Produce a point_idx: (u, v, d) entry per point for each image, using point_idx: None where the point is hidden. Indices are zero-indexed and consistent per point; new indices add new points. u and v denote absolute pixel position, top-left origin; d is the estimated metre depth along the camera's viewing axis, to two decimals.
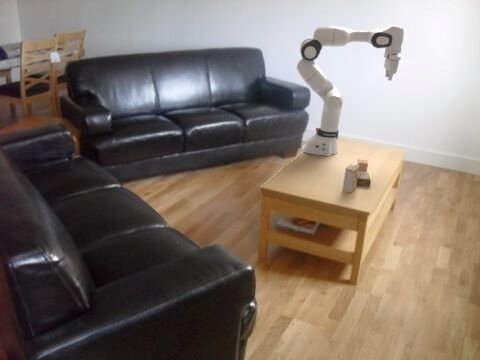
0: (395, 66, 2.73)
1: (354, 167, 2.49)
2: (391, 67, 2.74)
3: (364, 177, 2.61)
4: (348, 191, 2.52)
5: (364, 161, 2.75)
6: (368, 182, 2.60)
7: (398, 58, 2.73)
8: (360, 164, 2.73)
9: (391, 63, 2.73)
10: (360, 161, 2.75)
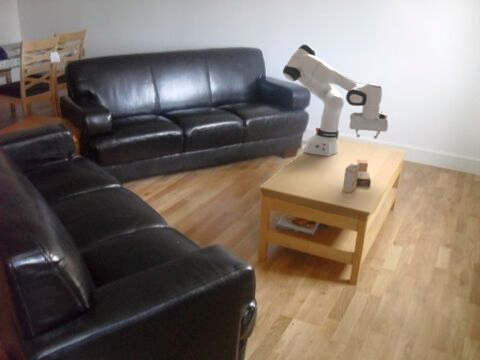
0: None
1: (354, 167, 2.49)
2: (387, 125, 2.64)
3: (364, 177, 2.61)
4: (348, 191, 2.52)
5: (364, 161, 2.75)
6: (368, 182, 2.60)
7: None
8: (360, 164, 2.73)
9: None
10: (360, 161, 2.75)
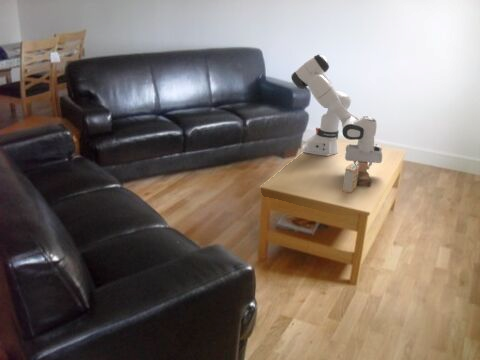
0: None
1: (354, 167, 2.49)
2: None
3: (364, 177, 2.61)
4: (348, 191, 2.52)
5: None
6: (368, 182, 2.60)
7: None
8: (360, 164, 2.73)
9: (381, 153, 2.70)
10: None
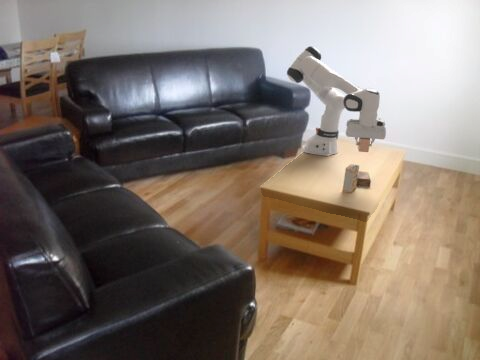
0: None
1: (354, 167, 2.49)
2: (385, 132, 2.52)
3: (364, 177, 2.61)
4: (348, 191, 2.52)
5: None
6: (368, 182, 2.60)
7: None
8: (362, 140, 2.54)
9: (385, 129, 2.51)
10: None
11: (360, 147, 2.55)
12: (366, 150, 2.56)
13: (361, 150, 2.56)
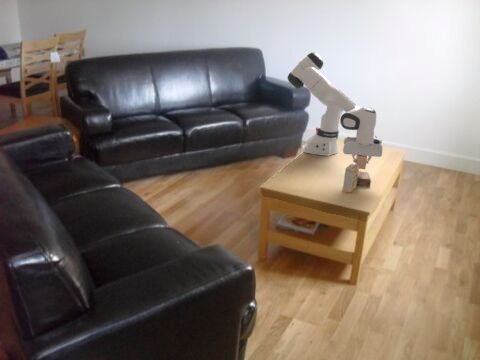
0: None
1: (354, 167, 2.49)
2: None
3: (364, 177, 2.61)
4: (348, 191, 2.52)
5: None
6: (368, 182, 2.60)
7: None
8: (359, 158, 2.58)
9: None
10: (359, 155, 2.59)
11: (357, 164, 2.59)
12: (363, 167, 2.60)
13: None
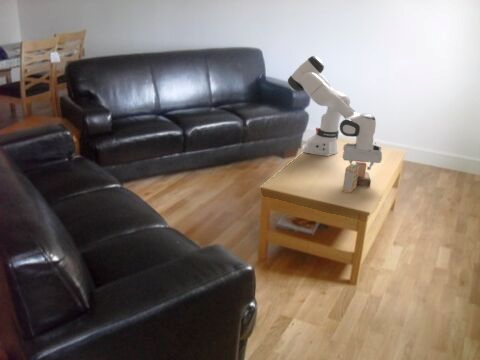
0: None
1: (354, 167, 2.49)
2: (381, 156, 2.58)
3: (364, 177, 2.61)
4: (348, 191, 2.52)
5: (362, 162, 2.62)
6: (368, 182, 2.60)
7: None
8: None
9: (381, 153, 2.56)
10: (358, 162, 2.61)
11: None
12: (362, 175, 2.62)
13: None
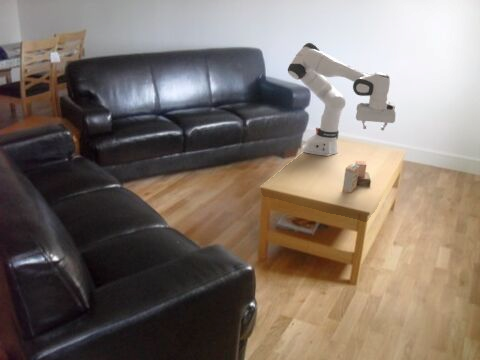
0: None
1: (354, 167, 2.49)
2: None
3: (364, 177, 2.61)
4: (348, 191, 2.52)
5: (362, 162, 2.62)
6: (368, 182, 2.60)
7: None
8: None
9: None
10: (358, 162, 2.61)
11: None
12: (362, 175, 2.62)
13: None
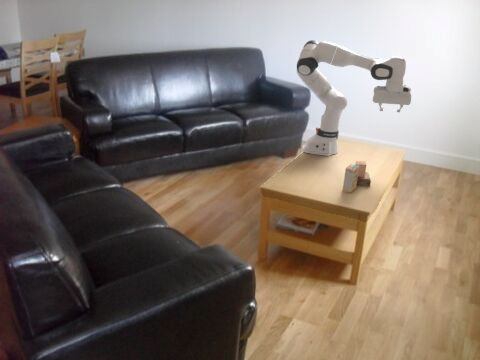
0: None
1: (354, 167, 2.49)
2: None
3: (364, 177, 2.61)
4: (348, 191, 2.52)
5: (362, 162, 2.62)
6: (368, 182, 2.60)
7: None
8: None
9: (410, 94, 2.65)
10: (358, 162, 2.61)
11: None
12: (362, 175, 2.62)
13: None
